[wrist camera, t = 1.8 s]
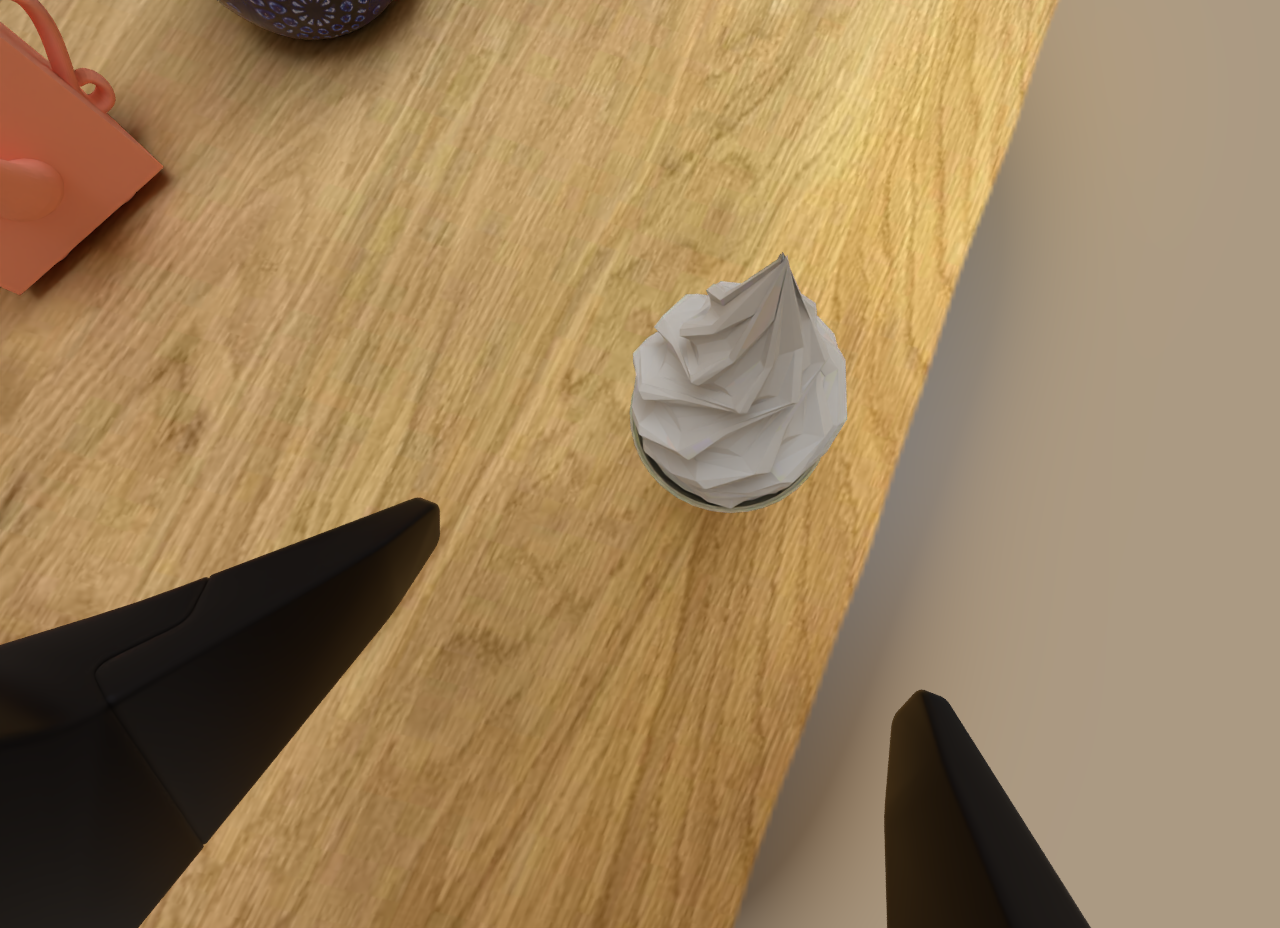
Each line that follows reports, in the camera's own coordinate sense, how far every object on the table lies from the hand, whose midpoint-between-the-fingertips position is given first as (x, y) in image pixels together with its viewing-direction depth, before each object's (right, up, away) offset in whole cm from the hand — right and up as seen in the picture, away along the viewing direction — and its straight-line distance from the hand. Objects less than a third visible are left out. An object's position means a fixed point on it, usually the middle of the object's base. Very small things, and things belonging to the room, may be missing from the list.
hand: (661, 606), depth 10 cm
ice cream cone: (+2, +2, +12) cm, 13 cm away
